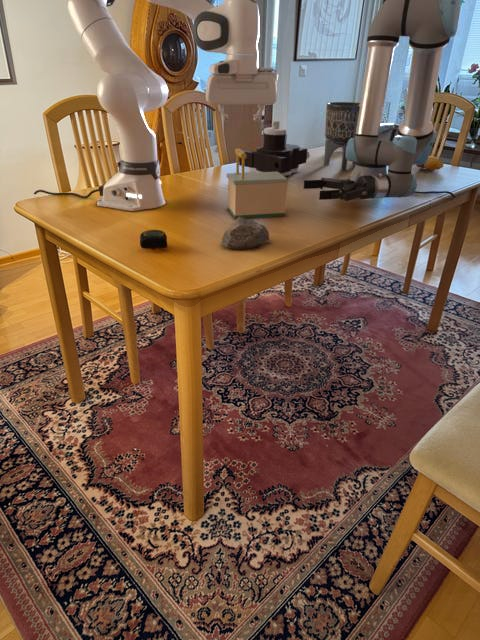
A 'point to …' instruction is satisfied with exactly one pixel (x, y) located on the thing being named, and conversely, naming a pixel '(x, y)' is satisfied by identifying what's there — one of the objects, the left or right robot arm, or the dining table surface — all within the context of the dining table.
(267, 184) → the chest
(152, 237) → the tape measure
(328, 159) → the planter
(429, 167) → the toy
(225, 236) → the rock
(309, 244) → the dining table surface
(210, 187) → the dining table surface
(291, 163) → the mechanical component
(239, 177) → the lid
